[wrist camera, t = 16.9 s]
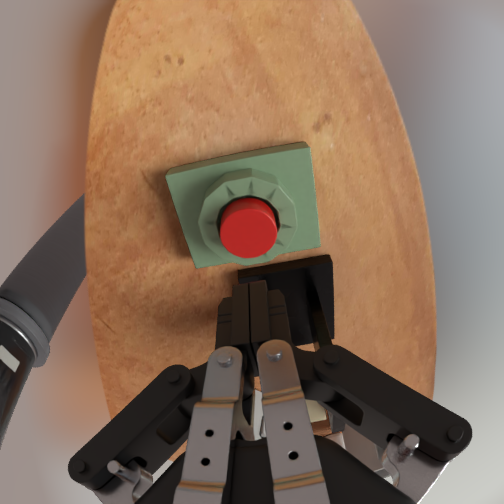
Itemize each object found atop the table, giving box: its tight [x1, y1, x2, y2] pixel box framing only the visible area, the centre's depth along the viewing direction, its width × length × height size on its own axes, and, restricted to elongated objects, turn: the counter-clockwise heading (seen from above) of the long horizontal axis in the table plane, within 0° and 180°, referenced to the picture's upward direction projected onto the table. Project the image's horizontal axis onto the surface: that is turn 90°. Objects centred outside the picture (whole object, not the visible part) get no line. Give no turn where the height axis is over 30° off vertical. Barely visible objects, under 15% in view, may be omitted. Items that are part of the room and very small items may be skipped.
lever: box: [305, 399, 327, 422], centre depth 25 cm, size 13×3×3 cm
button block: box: [165, 142, 321, 269], centre depth 22 cm, size 10×8×4 cm
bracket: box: [238, 255, 346, 433], centre depth 24 cm, size 10×8×13 cm
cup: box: [342, 424, 391, 478], centre depth 39 cm, size 9×9×12 cm
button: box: [220, 198, 277, 258], centre depth 20 cm, size 4×4×2 cm
